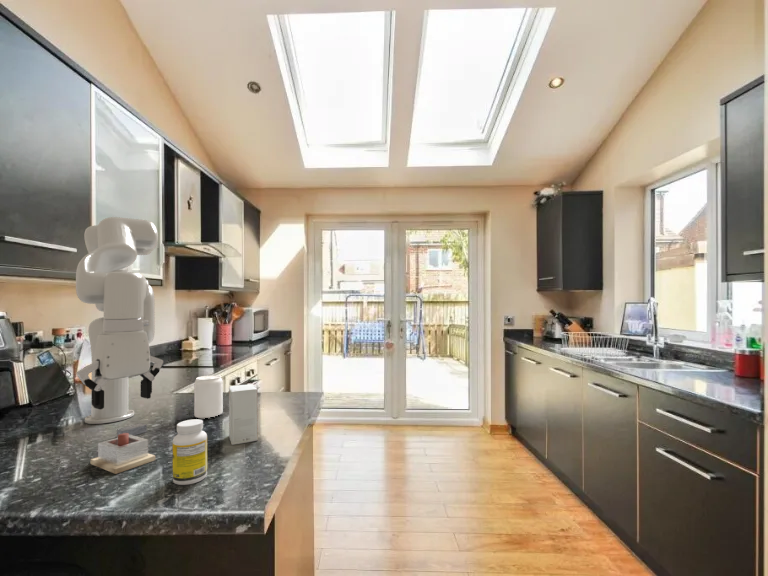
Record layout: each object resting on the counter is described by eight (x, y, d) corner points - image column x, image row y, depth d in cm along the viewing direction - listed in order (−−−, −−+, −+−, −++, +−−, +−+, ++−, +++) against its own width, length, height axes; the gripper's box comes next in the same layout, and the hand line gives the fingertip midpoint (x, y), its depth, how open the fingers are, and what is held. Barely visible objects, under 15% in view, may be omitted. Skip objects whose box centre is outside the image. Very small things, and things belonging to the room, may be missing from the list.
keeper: (90, 463, 85) (90, 436, 86) (129, 451, 92) (129, 426, 92) (115, 474, 80) (116, 444, 80) (155, 460, 87) (155, 432, 87)
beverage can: (212, 420, 117) (211, 380, 117) (188, 419, 118) (188, 379, 119) (228, 412, 125) (227, 375, 125) (205, 411, 126) (205, 374, 127)
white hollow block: (98, 459, 85) (98, 443, 85) (129, 449, 91) (129, 434, 91) (116, 466, 81) (116, 449, 81) (148, 455, 87) (148, 439, 87)
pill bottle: (180, 473, 80) (180, 418, 80) (211, 471, 80) (211, 417, 81) (166, 487, 73) (166, 428, 74) (200, 485, 74) (200, 426, 74)
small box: (258, 441, 98) (257, 388, 98) (231, 445, 95) (231, 391, 95) (253, 431, 105) (253, 383, 105) (228, 435, 102) (228, 385, 103)
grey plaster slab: (117, 436, 103) (117, 429, 103) (140, 430, 108) (140, 423, 108) (122, 438, 101) (122, 431, 102) (146, 432, 107) (146, 424, 107)
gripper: (153, 323, 97) (153, 392, 96) (70, 328, 82) (69, 410, 82) (171, 324, 93) (170, 396, 93) (86, 330, 78) (85, 415, 78)
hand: (123, 402), depth 87 cm, fingers open, 9 cm apart
